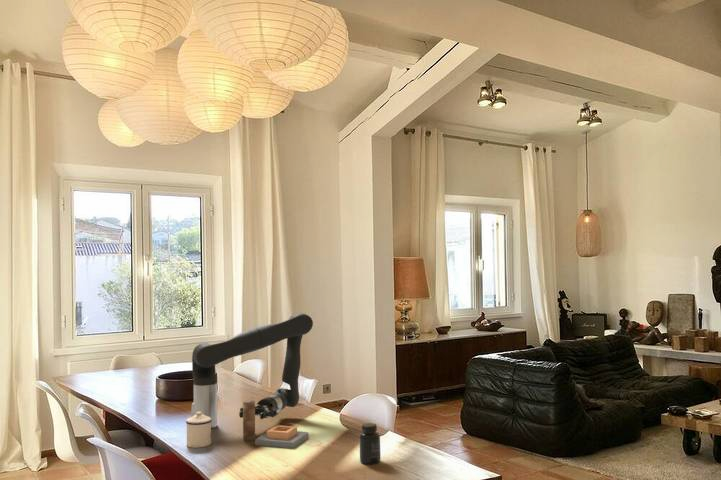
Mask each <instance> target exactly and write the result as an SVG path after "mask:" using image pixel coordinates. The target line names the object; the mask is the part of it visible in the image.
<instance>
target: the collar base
mask: <svg viewBox="0 0 721 480" xmlns="http://www.w3.org/2000/svg"><path fill="white" fill-rule="evenodd" d="M305 439H306V440H307V439H309V432H308V431H298V426H293V425H292V426H290V425H281V424H279V425H275V426H273V427H271V428H269V429H268V430H266V432H265V433H263V434H262V435H260V436H258V437H256V438H255V440H254V445H255V446H263V447H275V448H287V449H294V448H296V447H297V446H298V445H300V444H301V443H302V442H303V443H304V441H305Z"/></svg>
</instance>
